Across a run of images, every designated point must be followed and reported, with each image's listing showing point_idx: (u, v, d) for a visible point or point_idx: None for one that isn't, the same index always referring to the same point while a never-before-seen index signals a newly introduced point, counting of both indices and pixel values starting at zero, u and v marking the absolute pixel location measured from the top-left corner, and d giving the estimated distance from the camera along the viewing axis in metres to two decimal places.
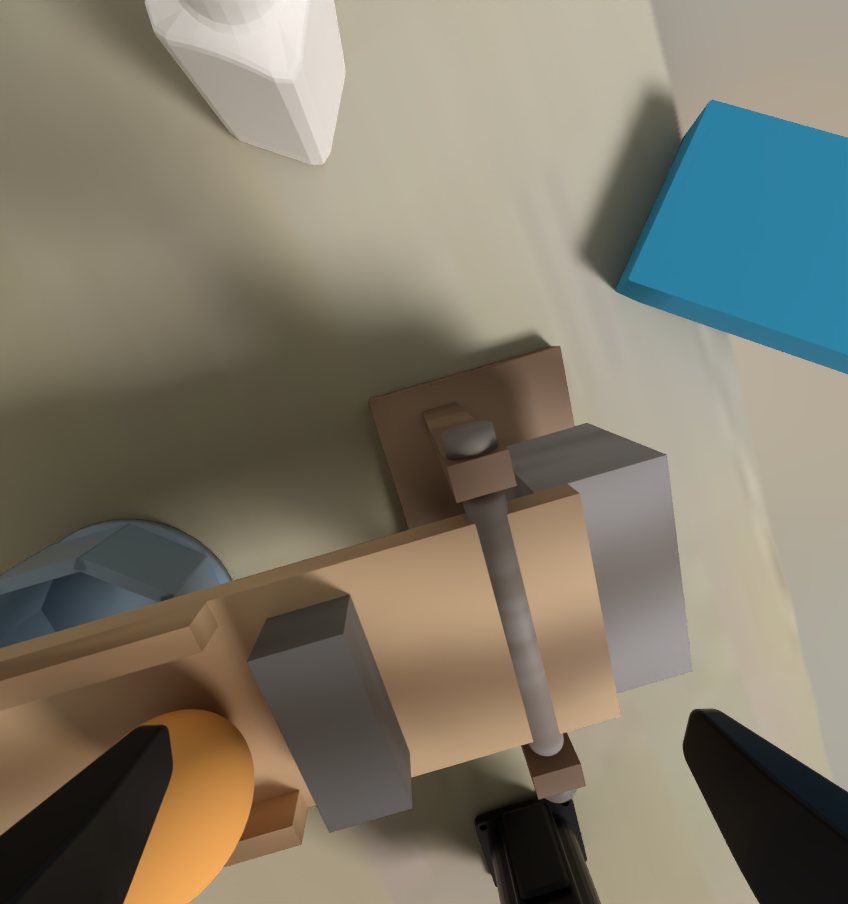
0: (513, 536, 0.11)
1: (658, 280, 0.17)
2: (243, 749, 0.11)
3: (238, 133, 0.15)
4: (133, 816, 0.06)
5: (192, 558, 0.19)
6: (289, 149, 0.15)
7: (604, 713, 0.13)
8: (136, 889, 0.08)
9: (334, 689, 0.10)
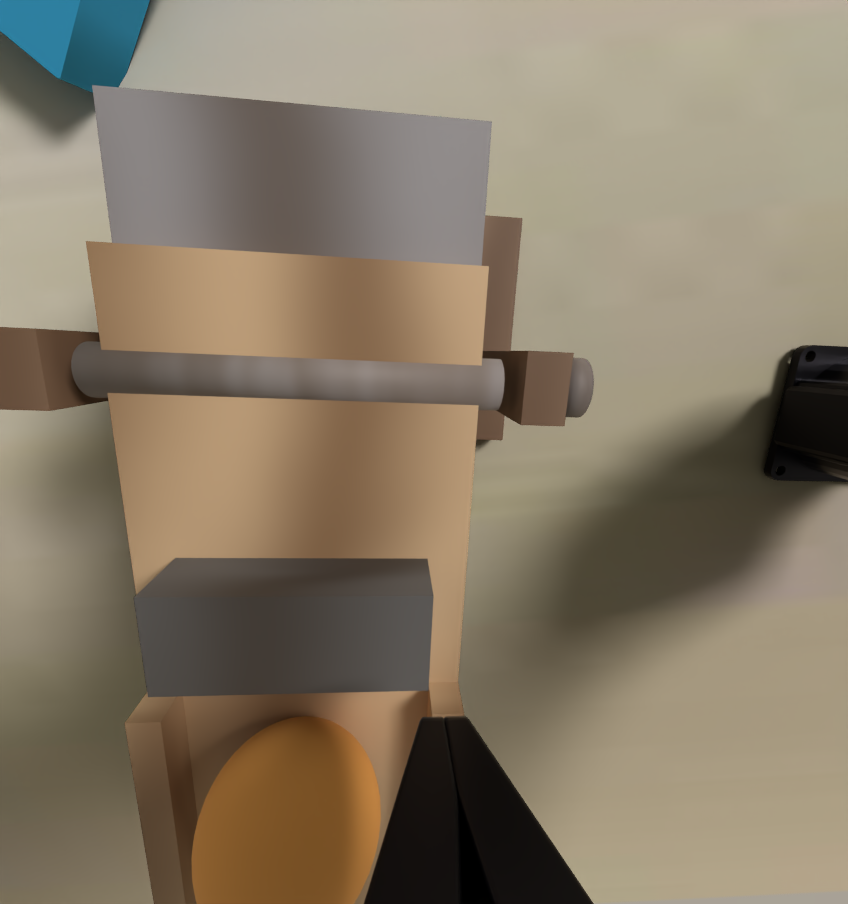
0: (133, 349, 0.08)
1: (60, 33, 0.13)
2: (282, 730, 0.09)
3: None
4: None
5: None
6: None
7: (473, 291, 0.09)
8: None
9: (212, 627, 0.08)
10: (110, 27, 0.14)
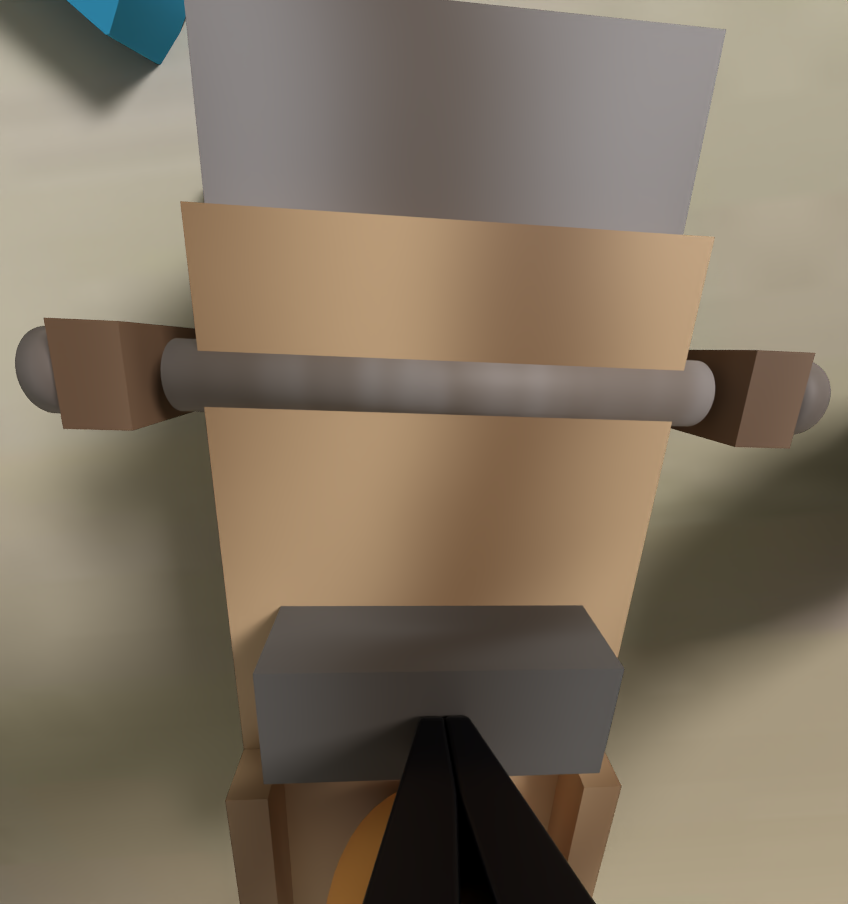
0: (240, 350, 0.06)
1: None
2: None
3: None
4: None
5: None
6: None
7: (688, 271, 0.06)
8: None
9: (348, 707, 0.07)
10: None
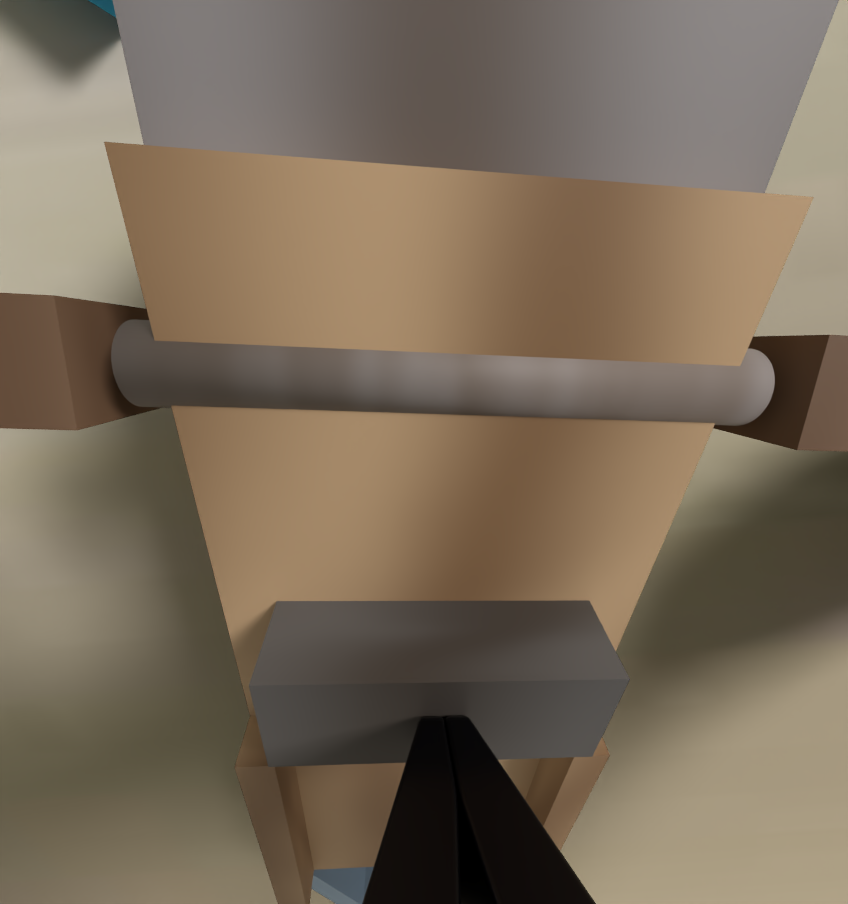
0: (206, 341, 0.05)
1: None
2: None
3: None
4: None
5: None
6: None
7: (768, 244, 0.05)
8: None
9: (348, 710, 0.07)
10: None
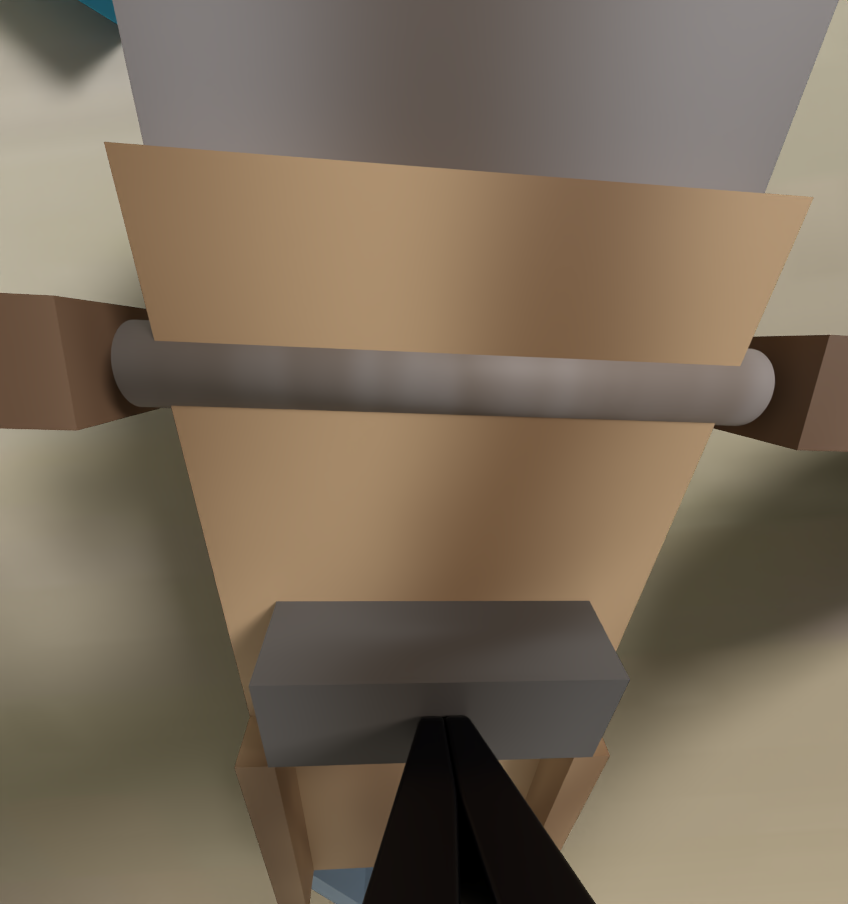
0: (206, 341, 0.05)
1: None
2: None
3: None
4: None
5: None
6: None
7: (769, 243, 0.05)
8: None
9: (347, 711, 0.07)
10: None
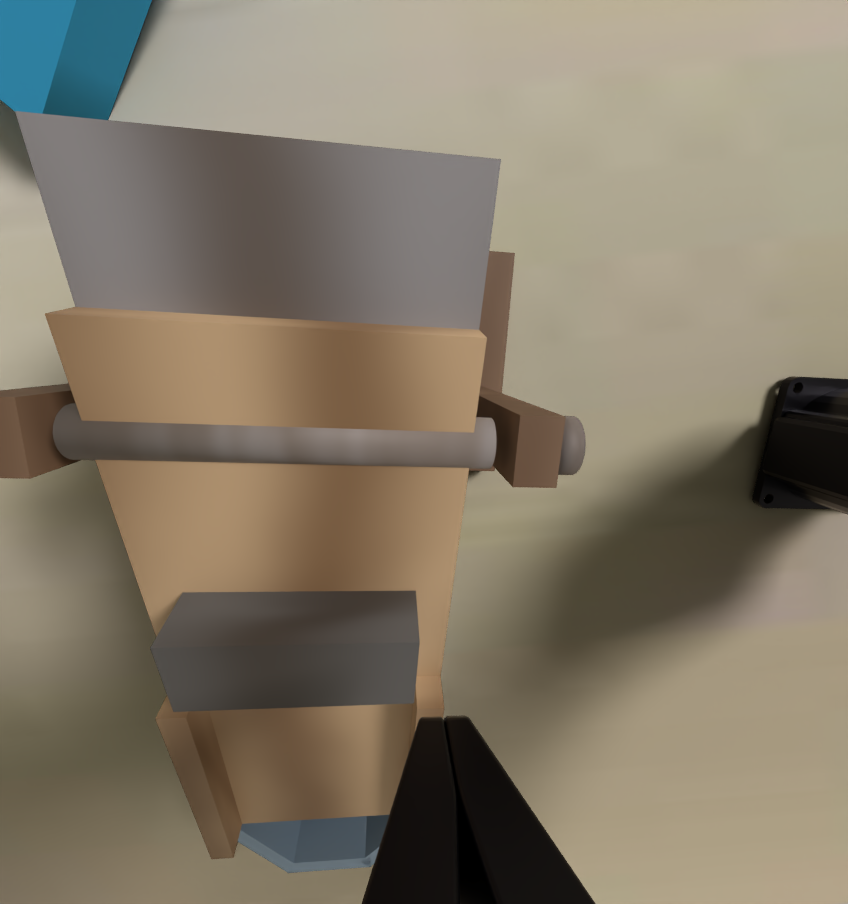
0: (115, 421, 0.08)
1: (38, 85, 0.13)
2: None
3: None
4: None
5: None
6: None
7: (468, 363, 0.08)
8: None
9: (224, 666, 0.09)
10: (91, 78, 0.13)
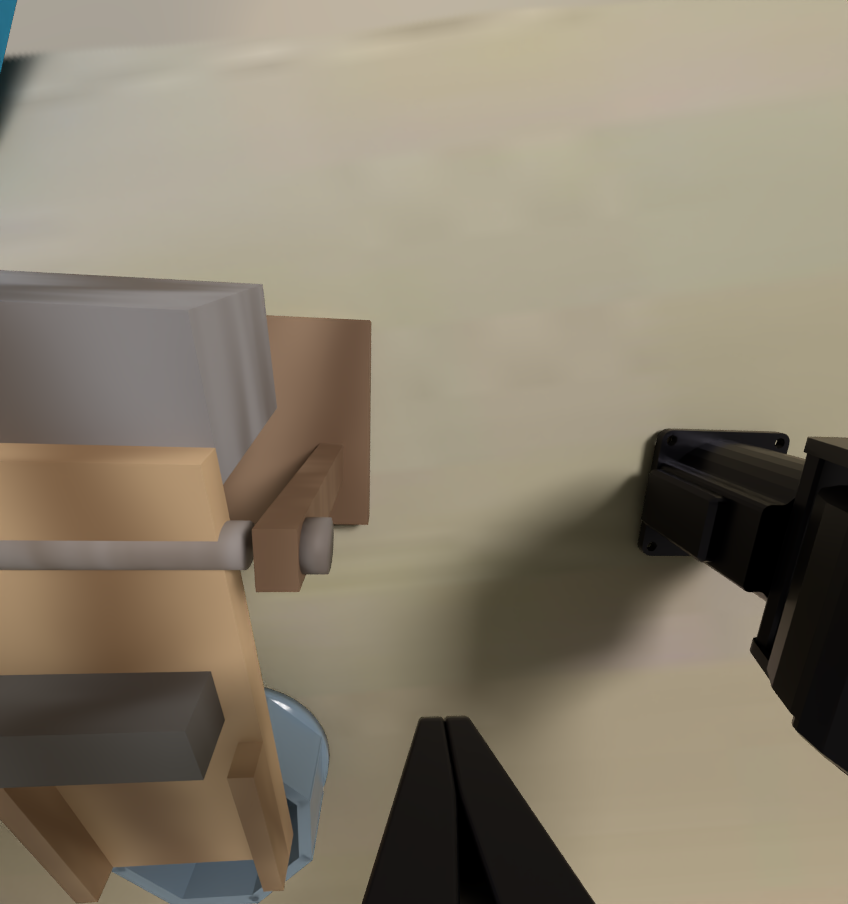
0: None
1: None
2: None
3: None
4: None
5: None
6: None
7: (190, 485, 0.09)
8: None
9: (2, 752, 0.10)
10: None
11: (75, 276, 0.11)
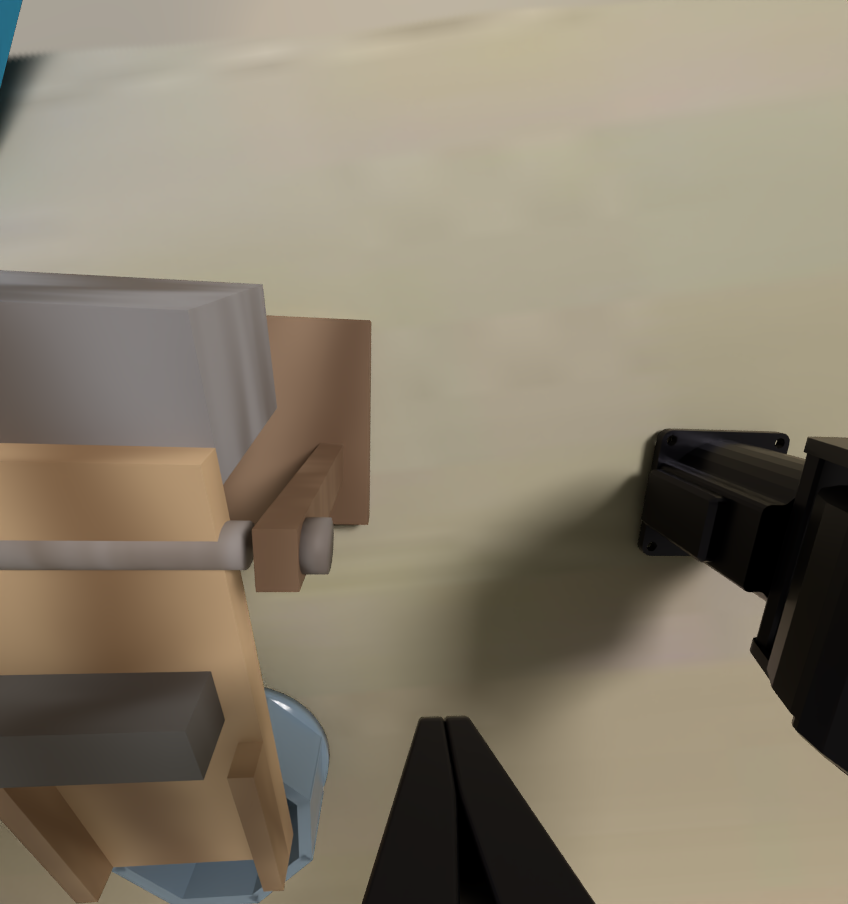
0: None
1: None
2: None
3: None
4: None
5: None
6: None
7: (190, 485, 0.09)
8: None
9: (2, 752, 0.10)
10: None
11: (75, 276, 0.11)
